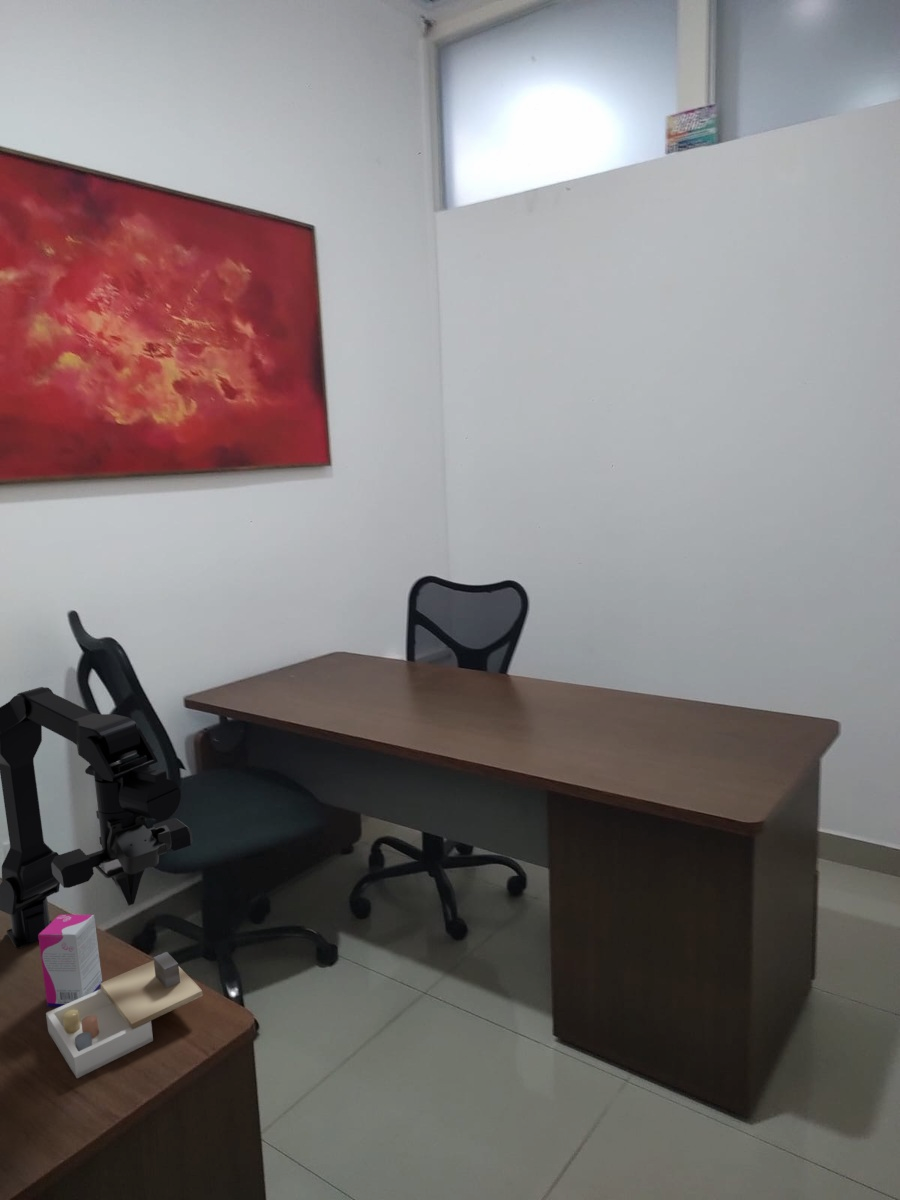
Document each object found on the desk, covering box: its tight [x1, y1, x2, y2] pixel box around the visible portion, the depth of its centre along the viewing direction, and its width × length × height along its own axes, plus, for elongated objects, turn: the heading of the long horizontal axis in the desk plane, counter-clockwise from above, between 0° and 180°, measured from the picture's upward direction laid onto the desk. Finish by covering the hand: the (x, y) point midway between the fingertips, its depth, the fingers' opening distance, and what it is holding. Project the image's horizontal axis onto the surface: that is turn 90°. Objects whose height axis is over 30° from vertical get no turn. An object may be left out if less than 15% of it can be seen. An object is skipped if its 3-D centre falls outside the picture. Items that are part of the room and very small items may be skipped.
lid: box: [100, 951, 204, 1029], centre depth 119 cm, size 12×10×4 cm
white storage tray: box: [45, 988, 154, 1079], centre depth 115 cm, size 12×10×3 cm
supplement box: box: [38, 914, 103, 1008], centre depth 123 cm, size 6×6×12 cm
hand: (130, 904), depth 124 cm, fingers closed
